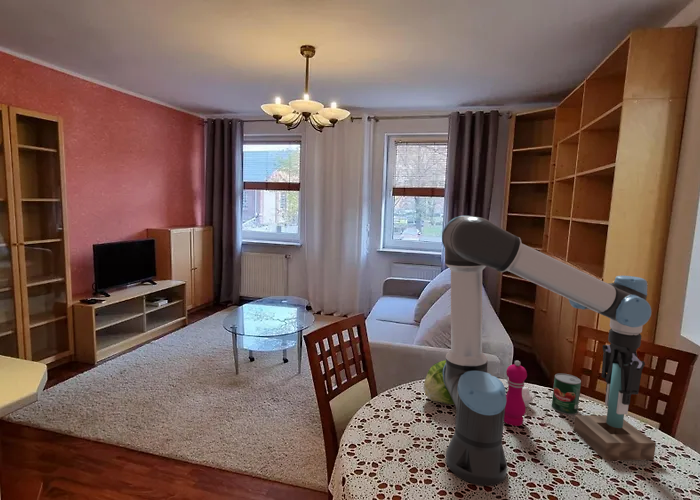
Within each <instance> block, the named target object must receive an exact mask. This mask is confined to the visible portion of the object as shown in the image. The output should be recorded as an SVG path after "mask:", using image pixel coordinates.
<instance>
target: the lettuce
mask: <svg viewBox="0 0 700 500" xmlns="http://www.w3.org/2000/svg"><path fill="white" fill-rule="evenodd" d="M445 363H446V359H444V360H440V361H438V362H436V363H434V364H433V365H432V366H431V367H430V368H429V370H428V371H427V372H426V377H425V379H424V382H423V391H424V393H425V395H426V397H427V399H429V400H430V401H432V402H439V403H442V404H445V405H453V406H455V404H454V402H453V400H452V398H451V395H450V393H449V391H448V390H447V388H446V386H445V384H444V380H443V368H444V365H445Z"/></svg>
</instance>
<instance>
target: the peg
mask: <svg viewBox="0 0 700 500" xmlns="http://www.w3.org/2000/svg"><path fill="white" fill-rule="evenodd" d="M619 390H621V368H620V367H619V363H613V367H612V376H611V385H610V393H609V402H608V406H607V412H606V416H607V419H606V423H607V424H608V425H610V426H612V427H615V428H622V427H623V420H625V414H617V413H616V411H617V403H618V394H619Z"/></svg>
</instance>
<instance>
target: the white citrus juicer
mask: <svg viewBox="0 0 700 500" xmlns="http://www.w3.org/2000/svg"><path fill="white" fill-rule="evenodd" d="M522 398H523V400H524V403H525V407H526V408H527V407H528V406H529V405H530V403H531V402H532V401H533V395H532V394H531V393H530V390H529V388H528V387H527V386H525V385H524V387H523V388H522Z"/></svg>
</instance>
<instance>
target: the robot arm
mask: <svg viewBox="0 0 700 500" xmlns="http://www.w3.org/2000/svg"><path fill="white" fill-rule="evenodd" d="M441 242H442V245H443V248H444V260H445V261H444V265H446V267H447V268H448V269H449V270H450V350H449V351H448V352H447V353H446V354H445V360H446V363H445V365H444V368H443V380H444V384H445V386H446V388H447V390H448V391H449V393H450V395H451V398H452V400H453V402H454V404H455V405H454V407H455V411H456V413H455V425H454V426H455V427H454V432H453V435H452V437H451V440H450V442H449V444H448V447H447V448H446V454H445V462H446V466H447V467H448V469H449V471H451V472H452V474H454V475H455V476H457V477H458V478H460V479H461V480H464V481H466V482H467V483H470V484H475V485H478V486H495V485H499V484H500V483H503V481H505V479H506V477H507V473H508V463H507V459H506V455H505V451H504V446H503V443H502V442H503V434H504V433H503V432H504V423H505V422H504V415H505V406H506V394H507V391H506V390H507V389H506V387H505V384H504V383H503V382H502V381H501V380H500V379H499V378H498V377H497V376H495V375H492V374H491V373H488V371H489V370H488V368H489V367H488V364H489V363H488V357H487V355H486V354H485V353H483V270H484V269H486V267H488V268H490V269H493V270H495V271H497V272H499V273H504V272H508V273H509V272H510V273H511V274H514V275H516V276H518V277H520V278H522V279H524V280H527V281H528V282H531V283H533V284H535V285H537V286H539V287H542V288H543V289H546V290H548V291H550V292H552V293H554V294H556V295H559V296H561V297H564V298H565V299H567V300H568V302H569V304H570V305H571V307H572V308H573V309H574V308H575V309H578V310H579V309H580V310H589V311H593V312H594V313H598V314H600V315H601V316H603V317H606V318H609V327H610V329H609V330H608V338H607V341H608V342H609V343H610V344H603V345H602V353H603V354H602V363H601V364H602V367H601V378H603V379H604V380H605V383H606V387H605V393H606V394H605V402H604V405H605V406H606V407H608V402H609V393H610V385H611V376H612V367H613V363H619V367H620V368H621V390H619V394H618V403H617V411H616V413H617V414H624V415H628V413H629V412H628V411H629V405H630V404H631V396H632V395H639V392H640V385H641V380H642V379H641V378H642V373H643V369H644V367H645V365H646V362H645V361H644V360H640V359H639V358H638V354H637V350H638V349H639V348H640V347H641V345H642V344H641V343H642V334H641V333H642V332H643V327H644V325H645V324H647V323H648V322H649V320H650V318H651V316H652V306H651V305H650V303H649V301H647V297H648V281H647V280H646V279H645V278H642V277H639V276H631V275H616V276H615V278H614V281H613V282H609V283H608V282H605V281H604V280H601V279H599V278H597V277H595V276H593V275H590V274H589V273H586V272H584V271H583V270H579V269H578V268H576V267H573V266H571V265H569V264H567V263H564V262H563V261H561V260H558V259H556V258H554V257H552V256H550V255H547V254H546V253H544V252H541V251H540V250H536V249H535V248H533V247H531V246H530V245H529V246H528V245H526V244H524V243H522V239H521V237H519V236H517V235H515V234H512V233H511V232H509V231H507V230H506V229H504V228H501V226H498V225H497V224H496V223H493V222H492V221H490V220H488V219H487V218H484V217H479V216H472V215H459V216H456V217H453V218H452V219H450V221H448V222H447V223H446V225H445V226H444V227H443V230H442V233H441Z"/></svg>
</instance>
